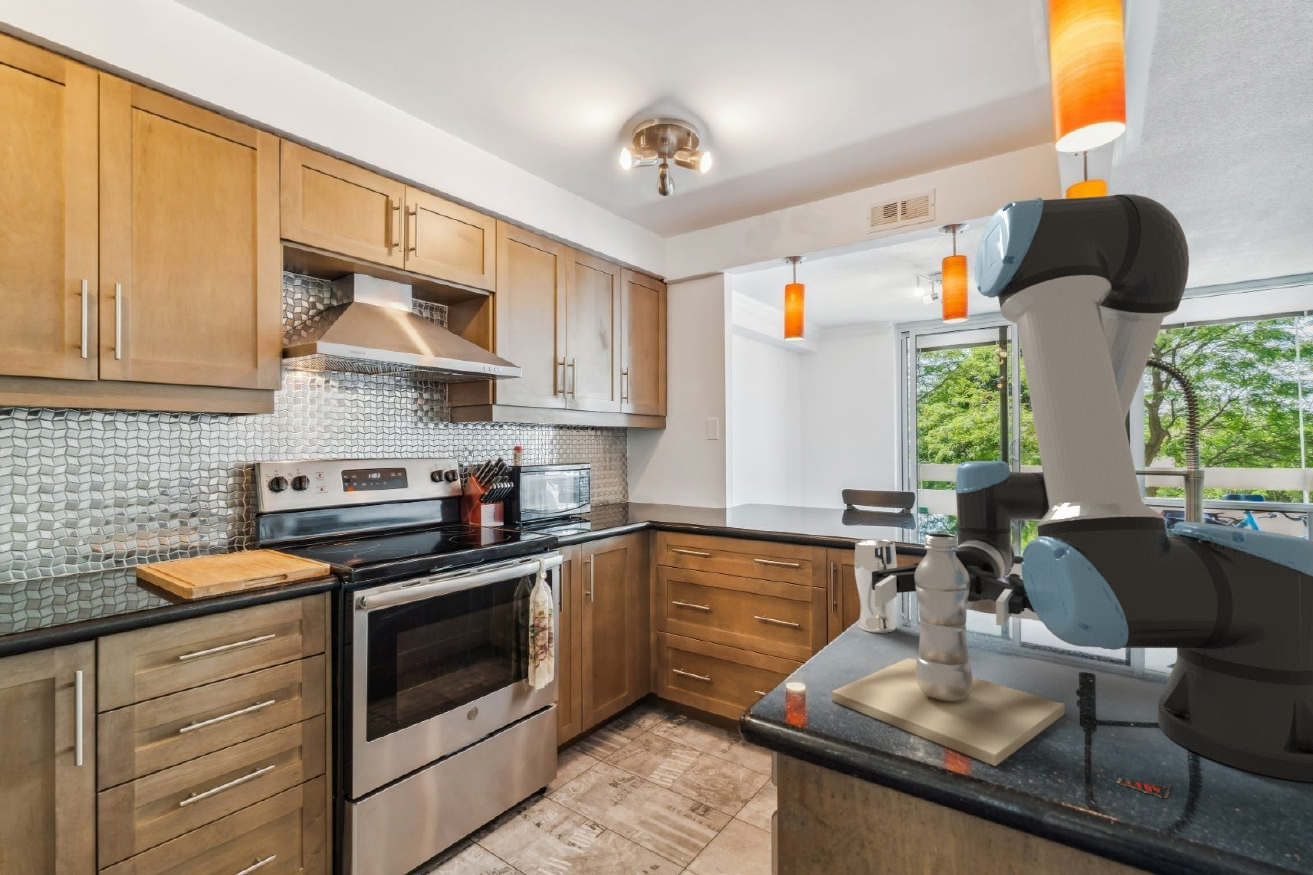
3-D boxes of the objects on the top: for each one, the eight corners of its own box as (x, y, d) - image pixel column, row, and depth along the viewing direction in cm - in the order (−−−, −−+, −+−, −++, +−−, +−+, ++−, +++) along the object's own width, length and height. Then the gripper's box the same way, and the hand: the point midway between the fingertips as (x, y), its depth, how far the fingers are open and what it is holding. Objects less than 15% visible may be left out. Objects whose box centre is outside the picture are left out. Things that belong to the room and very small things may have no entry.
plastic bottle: (913, 702, 74) (910, 537, 74) (918, 682, 80) (915, 530, 80) (973, 712, 71) (969, 540, 71) (973, 691, 77) (970, 533, 77)
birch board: (1064, 714, 73) (1064, 704, 73) (995, 766, 62) (995, 754, 62) (908, 666, 89) (908, 657, 89) (831, 700, 78) (831, 691, 78)
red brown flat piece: (1168, 779, 59) (1167, 774, 59) (1178, 807, 55) (1178, 802, 55) (1108, 767, 62) (1108, 762, 62) (1114, 792, 58) (1114, 787, 58)
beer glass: (891, 621, 109) (889, 538, 109) (903, 634, 103) (901, 545, 102) (851, 621, 110) (850, 538, 110) (861, 634, 103) (859, 546, 103)
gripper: (1074, 609, 82) (1060, 657, 65) (885, 585, 97) (835, 618, 80) (1073, 553, 82) (1059, 587, 65) (884, 538, 97) (833, 561, 80)
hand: (935, 604), depth 73 cm, fingers open, 13 cm apart
